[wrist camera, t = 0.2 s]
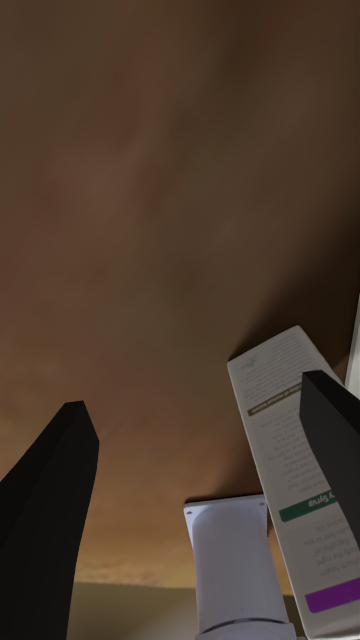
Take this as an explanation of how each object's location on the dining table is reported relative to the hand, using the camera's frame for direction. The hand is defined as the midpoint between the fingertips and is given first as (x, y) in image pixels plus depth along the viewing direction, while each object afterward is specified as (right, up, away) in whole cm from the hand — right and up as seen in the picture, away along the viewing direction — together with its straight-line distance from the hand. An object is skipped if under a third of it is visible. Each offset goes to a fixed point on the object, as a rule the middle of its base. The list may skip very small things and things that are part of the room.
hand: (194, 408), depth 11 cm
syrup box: (+7, 0, +12) cm, 14 cm away
